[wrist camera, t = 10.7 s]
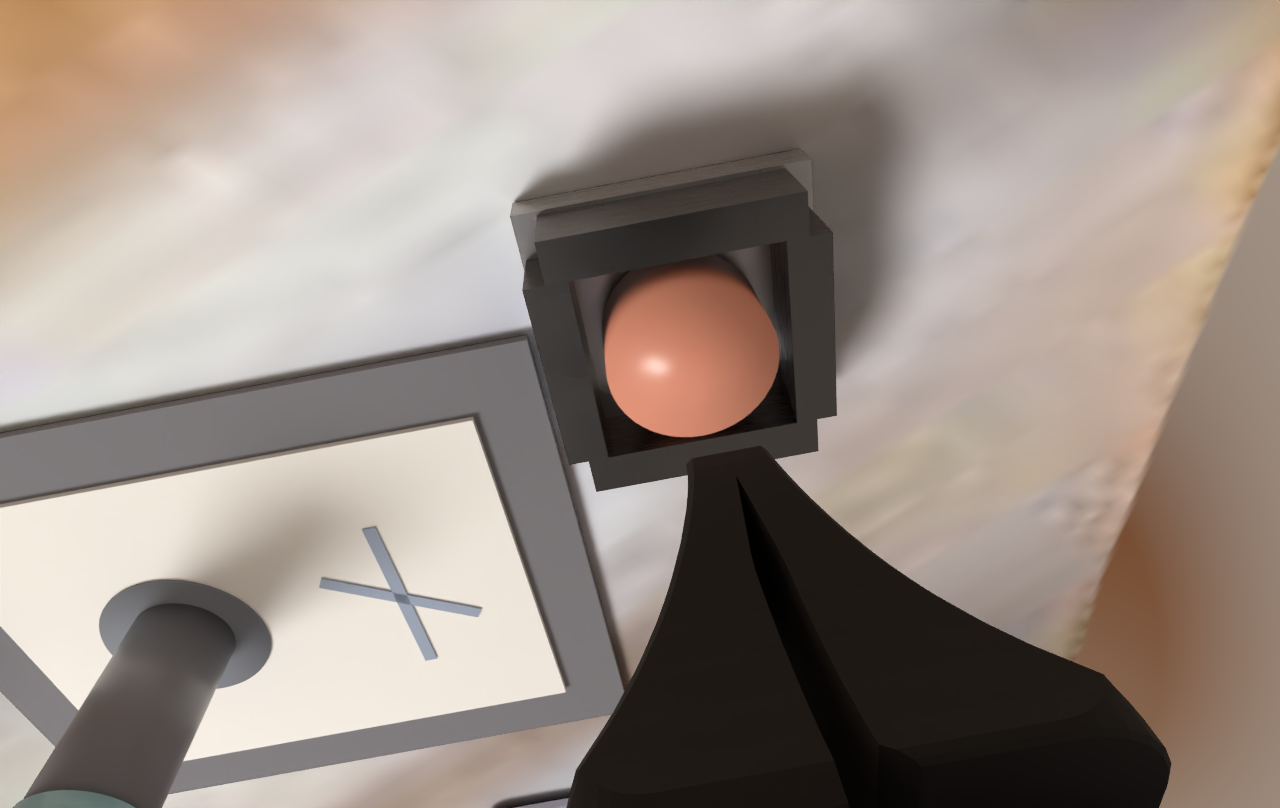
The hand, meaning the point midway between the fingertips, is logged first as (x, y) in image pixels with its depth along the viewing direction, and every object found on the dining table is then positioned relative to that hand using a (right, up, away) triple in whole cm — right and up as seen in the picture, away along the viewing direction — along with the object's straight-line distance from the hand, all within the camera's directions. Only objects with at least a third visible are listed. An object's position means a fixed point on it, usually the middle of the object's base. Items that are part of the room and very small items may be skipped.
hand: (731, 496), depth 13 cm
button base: (-1, +4, +7) cm, 8 cm away
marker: (-16, -6, +10) cm, 20 cm away
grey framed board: (-13, -5, +11) cm, 18 cm away
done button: (-1, +4, +6) cm, 7 cm away
